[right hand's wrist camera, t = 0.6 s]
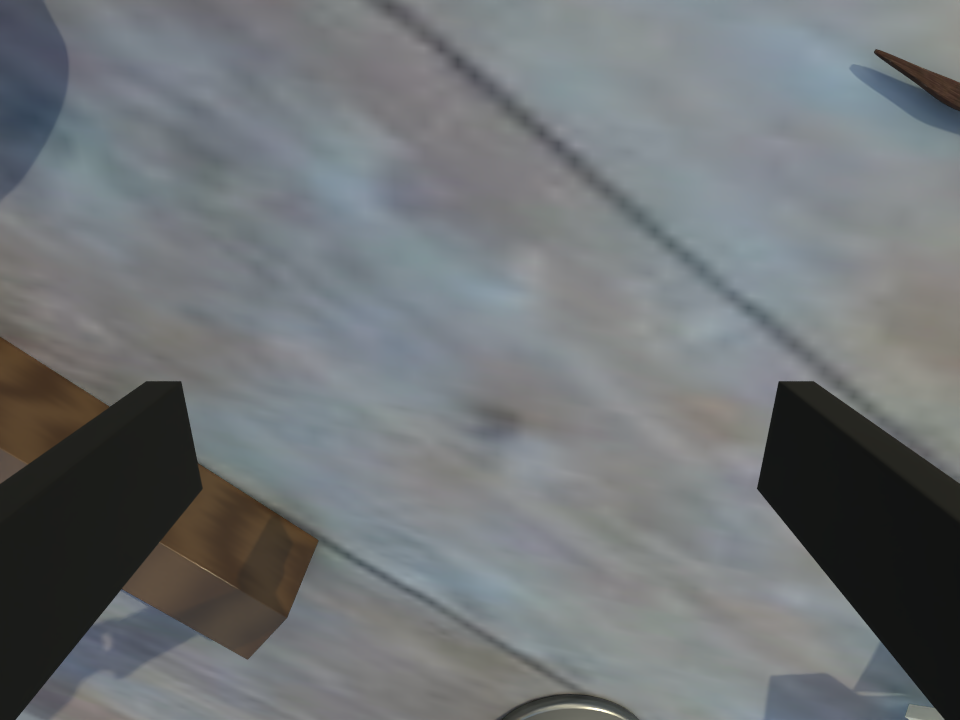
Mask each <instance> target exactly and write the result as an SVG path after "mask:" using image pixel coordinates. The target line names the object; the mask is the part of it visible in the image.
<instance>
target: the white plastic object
mask: <svg viewBox="0 0 960 720" xmlns="http://www.w3.org/2000/svg"><path fill="white" fill-rule="evenodd" d="M905 717H906V718H907V719H909V720H944V718H943V717H942V716H941V715H940V714H939V712H938V711H937V710H936V709H935V708H931V707H925V706H918V705H912V704H909V706H908V709H907V712H906V715H905Z"/></svg>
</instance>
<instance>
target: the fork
mask: <svg viewBox="0 0 960 720" xmlns="http://www.w3.org/2000/svg"><path fill="white" fill-rule="evenodd" d="M874 53H875V54H876V55H877V56H878V57H880V58H881V59H882V60H884V61H885V62H886V63H888V64H889V65H891V66H892V67H894V68H895V69H896V70H898V71H899V72H901V73H902V74H904V75H905V76H907V77H908V78H910V79H911V80H912V81H914V82H915V83H916V84H918V85H919V86H920V87H922V88H923V89H924V90H926V91H927V92H928V93H930V94H931V95H932V96H934V97H935V98H936V99H938V100H939V101H941V102H942V103H944V104H946V105H948V106H950V107H952V108H954V109H956V110H958V111H960V83H959V82H957V81H955V80H952V79H950V78H947V77H945V76H942V75H939V74H937V73H934V72H931V71H929V70H926V69H924V68H921V67H919V66H917V65H914V64H912V63H910V62H907V61H905V60H903V59H900V58H898V57H895V56H893V55H891V54H888V53H886V52H883V51H880V50H877V49H876V50H875V51H874Z"/></svg>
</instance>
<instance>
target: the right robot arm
mask: <svg viewBox="0 0 960 720" xmlns="http://www.w3.org/2000/svg"><path fill="white" fill-rule="evenodd" d="M202 489H203V487H202V482H201V477H200V472H199V467H198V462H197V457H196V452H195V447H194V442H193V437H192V432H191V428H190V423H189V418H188V413H187V408H186V403H185V398H184V393H183V388H182V383H181V381H146V382H145V383H143V384H142V385H140V386H139V387H138V388H136V389H135V390H133V391H132V392H130V393H129V394H128V395H126V396H125V397H123V398H122V399H121V400H119V401H118V402H116V403H115V404H113V405H112V406H111V407H109V408H108V409H106V410H105V411H103V412H102V413H101V414H99V415H98V416H96V417H95V418H93V419H92V420H91V421H89V422H88V423H86V424H85V425H83V426H82V427H81V428H79V429H78V430H76V431H75V432H73V433H72V434H71V435H69V436H68V437H66V438H65V439H63V440H62V441H61V442H59V443H58V444H56V445H55V446H53V447H52V448H51V449H49V450H48V451H46V452H45V453H44V454H42V455H41V456H39V457H38V458H36V459H35V460H34V461H32V462H31V463H29V464H28V465H26V466H25V467H24V468H22V469H21V470H19V471H18V472H16V473H15V474H14V475H12V476H11V477H9V478H8V479H6V480H5V481H4V482H2V483H1V484H0V720H16V718H17V717H18V716H19V715H20V714H21V712H22V711H23V710H24V709H25V707H26V706H27V705H28V704H29V702H30V701H31V700H32V699H33V697H34V696H35V695H36V694H37V693H38V691H39V690H40V689H41V688H42V686H43V685H44V684H45V683H46V681H47V680H48V679H49V678H50V677H51V675H52V674H53V673H54V672H55V670H56V669H57V668H58V667H59V665H60V664H61V663H62V662H63V661H64V659H65V658H66V657H67V656H68V654H69V653H70V652H71V651H72V649H73V648H74V647H75V646H76V645H77V643H78V642H79V641H80V640H81V638H82V637H83V636H84V635H85V633H86V632H87V631H88V630H89V628H90V627H91V626H92V625H93V624H94V622H95V621H96V620H97V619H98V617H99V616H100V615H101V614H102V612H103V611H104V610H105V609H106V608H107V606H108V605H109V604H110V603H111V601H112V600H113V599H114V598H115V596H116V595H117V594H118V593H119V592H120V590H121V589H122V588H123V587H124V585H125V584H126V583H127V582H128V580H129V579H130V578H131V577H132V576H133V574H134V573H135V572H136V571H137V569H138V568H139V567H140V566H141V564H142V563H143V562H144V561H145V560H146V558H147V557H148V556H149V555H150V553H151V552H152V551H153V550H154V548H155V547H156V546H157V545H158V543H159V542H160V541H161V540H162V539H163V537H164V536H165V535H166V534H167V532H168V531H169V530H170V529H171V527H172V526H173V525H174V524H175V523H176V521H177V520H178V519H179V518H180V516H181V515H182V514H183V513H184V511H185V510H186V509H187V508H188V507H189V505H190V504H191V503H192V502H193V500H194V499H195V498H196V497H197V495H198V494H199V493H200V492H201V491H202ZM757 489H758V491H759V492H760V493H761V494H762V495H763V497H764V498H765V499H766V500H767V502H768V503H769V504H770V505H771V507H772V508H773V509H774V510H775V511H776V513H777V514H778V515H779V516H780V518H781V519H782V520H783V521H784V523H785V524H786V525H787V526H788V527H789V529H790V530H791V531H792V532H793V534H794V535H795V536H796V537H797V539H798V540H799V541H800V542H801V543H802V545H803V546H804V547H805V548H806V550H807V551H808V552H809V553H810V555H811V556H812V557H813V558H814V560H815V561H816V562H817V563H818V564H819V566H820V567H821V568H822V569H823V571H824V572H825V573H826V574H827V576H828V577H829V578H830V579H831V580H832V582H833V583H834V584H835V585H836V587H837V588H838V589H839V590H840V592H841V593H842V594H843V595H844V596H845V598H846V599H847V600H848V601H849V603H850V604H851V605H852V606H853V608H854V609H855V610H856V611H857V612H858V614H859V615H860V616H861V617H862V619H863V620H864V621H865V622H866V624H867V625H868V626H869V627H870V628H871V630H872V631H873V632H874V633H875V635H876V636H877V637H878V638H879V640H880V641H881V642H882V643H883V645H884V646H885V647H886V648H887V649H888V651H889V652H890V653H891V654H892V656H893V657H894V658H895V659H896V661H897V662H898V663H899V664H900V665H901V667H902V668H903V669H904V670H905V672H906V673H907V674H908V675H909V677H910V678H911V679H912V680H913V681H914V683H915V684H916V685H917V686H918V688H919V689H920V690H921V691H922V693H923V694H924V695H925V696H926V697H927V699H928V700H929V701H930V702H931V704H932V705H933V706H934V707H935V709H936V710H937V711H938V712H939V714H940V715H941V716H942V717H943V718H944V720H960V484H959V483H958V482H956V481H955V480H954V479H952V478H951V477H949V476H948V475H946V474H945V473H944V472H942V471H941V470H939V469H938V468H936V467H935V466H934V465H932V464H931V463H929V462H928V461H926V460H925V459H924V458H922V457H921V456H919V455H918V454H916V453H915V452H914V451H912V450H911V449H909V448H908V447H907V446H905V445H904V444H902V443H901V442H899V441H898V440H897V439H895V438H894V437H892V436H891V435H889V434H888V433H887V432H885V431H884V430H882V429H881V428H879V427H878V426H877V425H875V424H874V423H872V422H871V421H869V420H868V419H867V418H865V417H864V416H862V415H861V414H859V413H858V412H857V411H855V410H854V409H852V408H851V407H849V406H848V405H847V404H845V403H844V402H842V401H841V400H839V399H838V398H837V397H835V396H834V395H832V394H831V393H830V392H828V391H827V390H825V389H824V388H822V387H821V386H820V385H818V384H817V383H815V382H814V381H779V383H778V388H777V393H776V398H775V403H774V408H773V413H772V418H771V423H770V428H769V432H768V437H767V442H766V447H765V452H764V457H763V462H762V467H761V472H760V477H759V482H758V487H757ZM502 720H639V719H638V718H637V717H636V716H635V715H633V714H632V713H631V712H630V711H628V710H627V709H625V708H624V707H622V706H620V705H618V704H616V703H613V702H611V701H608V700H605V699H601V698H597V697H592V696H585V695H560V696H552V697H547V698H543V699H539V700H536V701H533V702H530V703H528V704H525V705H523V706H521V707H519V708H517V709H516V710H514V711H512V712H511V713H509V714H508V715H507V716H506V717H504V718H503V719H502Z"/></svg>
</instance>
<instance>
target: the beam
mask: <svg viewBox="0 0 960 720" xmlns="http://www.w3.org/2000/svg"><path fill="white" fill-rule="evenodd" d="M108 408H109V406H107V405H106V404H104V403H103V402H101V401H100V400H98V399H96V398H95V397H93V396H92V395H90V394H89V393H87V392H86V391H84V390H82V389H81V388H79V387H78V386H76V385H75V384H73V383H71V382H70V381H68V380H67V379H65V378H64V377H62V376H61V375H59V374H57V373H56V372H54V371H53V370H51V369H50V368H48V367H46V366H45V365H43V364H42V363H40V362H39V361H37V360H35V359H34V358H32V357H31V356H29V355H28V354H26V353H25V352H23V351H21V350H20V349H18V348H17V347H15V346H14V345H12V344H10V343H9V342H7V341H6V340H4V339H3V338H1V337H0V484H1V483H2V482H4V481H5V480H6V479H8V478H9V477H11V476H12V475H14V474H15V473H16V472H18V471H19V470H21V469H22V468H24V467H25V466H26V465H28V464H29V463H31V462H32V461H34V460H35V459H36V458H38V457H39V456H41V455H42V454H44V453H45V452H46V451H48V450H49V449H51V448H52V447H53V446H55V445H56V444H58V443H59V442H61V441H62V440H63V439H65V438H66V437H68V436H69V435H71V434H72V433H73V432H75V431H76V430H78V429H79V428H81V427H82V426H83V425H85V424H86V423H88V422H89V421H91V420H92V419H93V418H95V417H96V416H98V415H99V414H101V413H102V412H103V411H105V410H106V409H108ZM198 467H199V472H200V477H201V482H202V487H203V489H202V491H201V492H200V493H199V494H198V495H197V497H196V498H195V499H194V500H193V502H192V503H191V504H190V505H189V507H188V508H187V509H186V510H185V511H184V513H183V514H182V515H181V516H180V518H179V519H178V520H177V521H176V523H175V524H174V525H173V526H172V527H171V529H170V530H169V531H168V532H167V534H166V535H165V536H164V537H163V539H162V540H161V541H160V542H159V543H158V545H157V546H156V547H155V548H154V550H153V551H152V552H151V553H150V555H149V556H148V557H147V558H146V560H145V561H144V562H143V563H142V564H141V566H140V567H139V568H138V569H137V571H136V572H135V573H134V574H133V576H132V577H131V578H130V579H129V580H128V582H127V583H126V584H125V585H124V587H123V588H122V589H123V590H124V591H126V592H128V593H130V594H132V595H133V596H135V597H137V598H139V599H140V600H142V601H144V602H146V603H148V604H149V605H151V606H153V607H155V608H156V609H158V610H160V611H162V612H164V613H165V614H167V615H169V616H171V617H173V618H174V619H176V620H178V621H180V622H181V623H183V624H185V625H187V626H189V627H190V628H192V629H194V630H196V631H197V632H199V633H201V634H203V635H205V636H206V637H208V638H210V639H212V640H213V641H215V642H217V643H219V644H221V645H222V646H224V647H226V648H228V649H230V650H231V651H233V652H235V653H237V654H238V655H240V656H242V657H244V658H246V659H249V658H250V657H251V656H252V655H253V654H254V652H255V651H256V650H257V649H258V648H259V647H260V646H261V645H262V644H263V643H264V642H265V641H266V640H267V639H268V638H269V637H270V635H271V634H272V633H273V632H274V631H275V630H276V629H277V628H278V627H279V626H280V625H281V624H282V623H283V622H284V621H285V620H286V618H287V617H288V614H289V612H290V609H291V607H292V604H293V602H294V600H295V597H296V595H297V592H298V590H299V587H300V585H301V582H302V580H303V577H304V575H305V573H306V570H307V568H308V565H309V563H310V560H311V558H312V555H313V553H314V551H315V548H316V546H317V543H318V540H317V539H315V538H314V537H312V536H311V535H309V534H308V533H306V532H304V531H303V530H301V529H300V528H298V527H297V526H295V525H293V524H292V523H290V522H289V521H287V520H286V519H284V518H283V517H281V516H279V515H278V514H276V513H275V512H273V511H272V510H270V509H268V508H267V507H265V506H264V505H262V504H261V503H259V502H258V501H256V500H254V499H253V498H251V497H250V496H248V495H247V494H245V493H243V492H242V491H240V490H239V489H237V488H236V487H234V486H232V485H231V484H229V483H228V482H226V481H225V480H223V479H222V478H220V477H218V476H217V475H215V474H214V473H212V472H211V471H209V470H207V469H206V468H204V467H203V466H201V465H200V464H198Z"/></svg>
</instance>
